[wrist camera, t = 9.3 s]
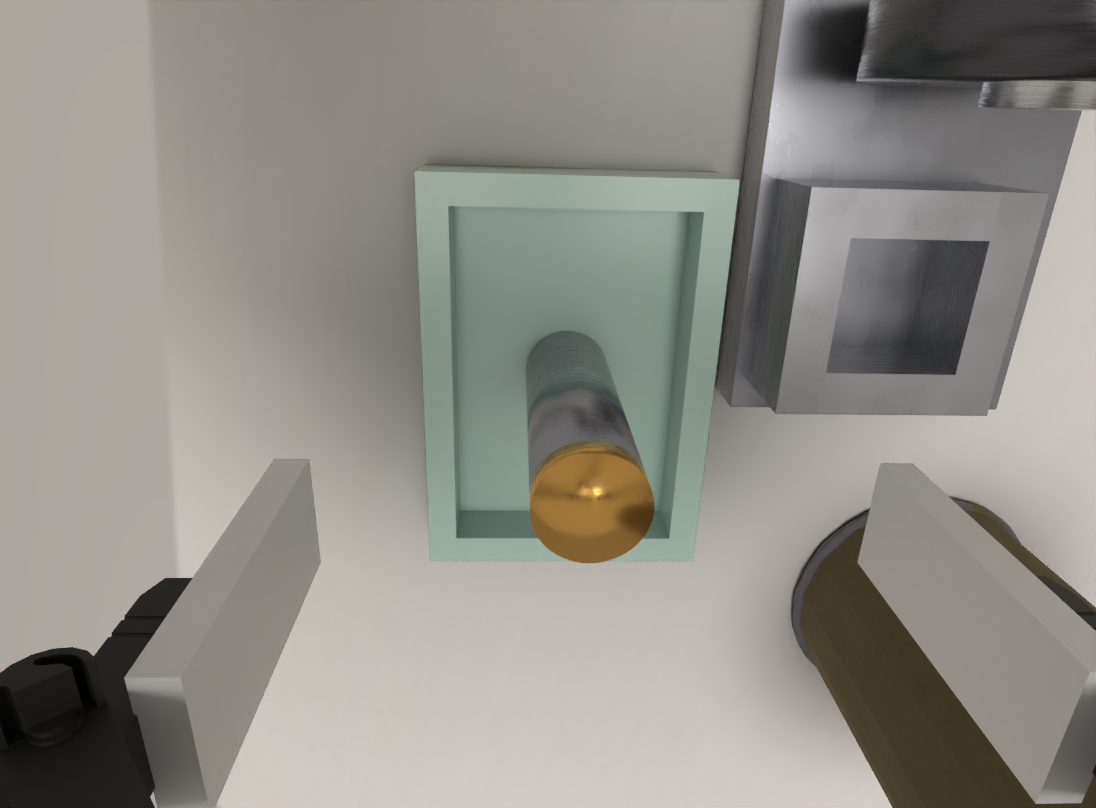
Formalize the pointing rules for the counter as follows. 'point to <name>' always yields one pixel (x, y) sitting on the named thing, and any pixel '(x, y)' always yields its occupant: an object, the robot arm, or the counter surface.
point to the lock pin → (582, 454)
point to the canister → (904, 682)
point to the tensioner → (898, 199)
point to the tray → (565, 305)
